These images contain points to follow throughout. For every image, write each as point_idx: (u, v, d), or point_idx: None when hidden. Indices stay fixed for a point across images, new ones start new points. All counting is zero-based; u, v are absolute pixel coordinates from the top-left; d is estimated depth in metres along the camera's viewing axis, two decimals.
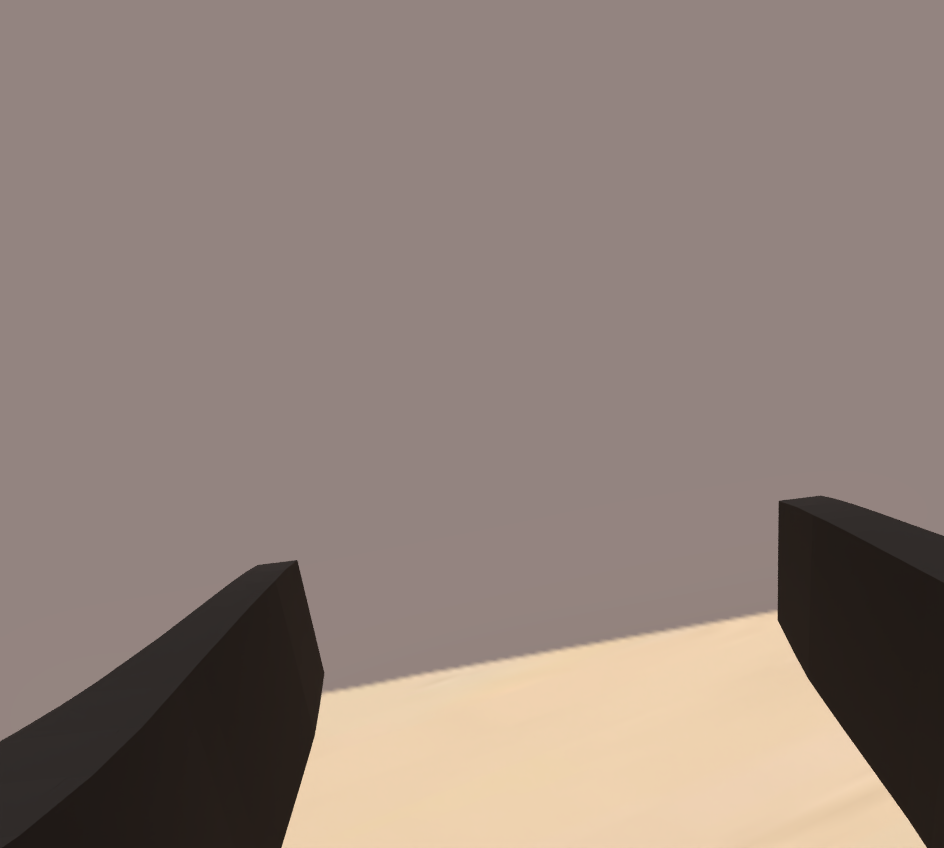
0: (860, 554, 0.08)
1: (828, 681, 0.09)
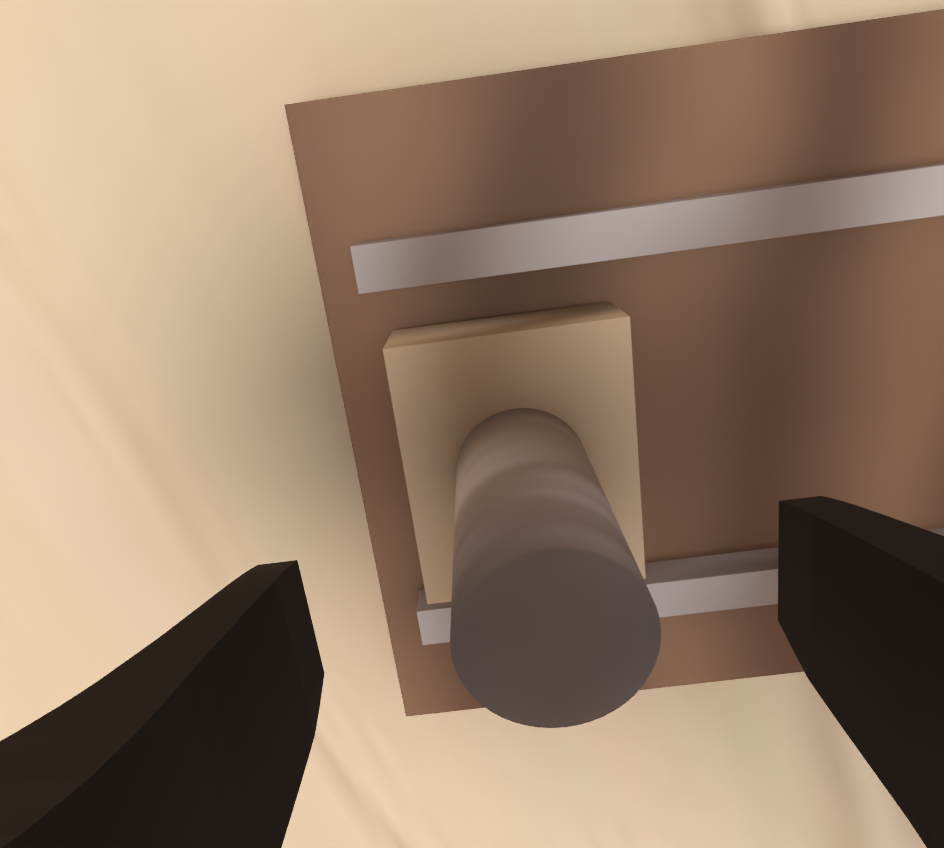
0: (860, 553, 0.08)
1: (828, 681, 0.09)
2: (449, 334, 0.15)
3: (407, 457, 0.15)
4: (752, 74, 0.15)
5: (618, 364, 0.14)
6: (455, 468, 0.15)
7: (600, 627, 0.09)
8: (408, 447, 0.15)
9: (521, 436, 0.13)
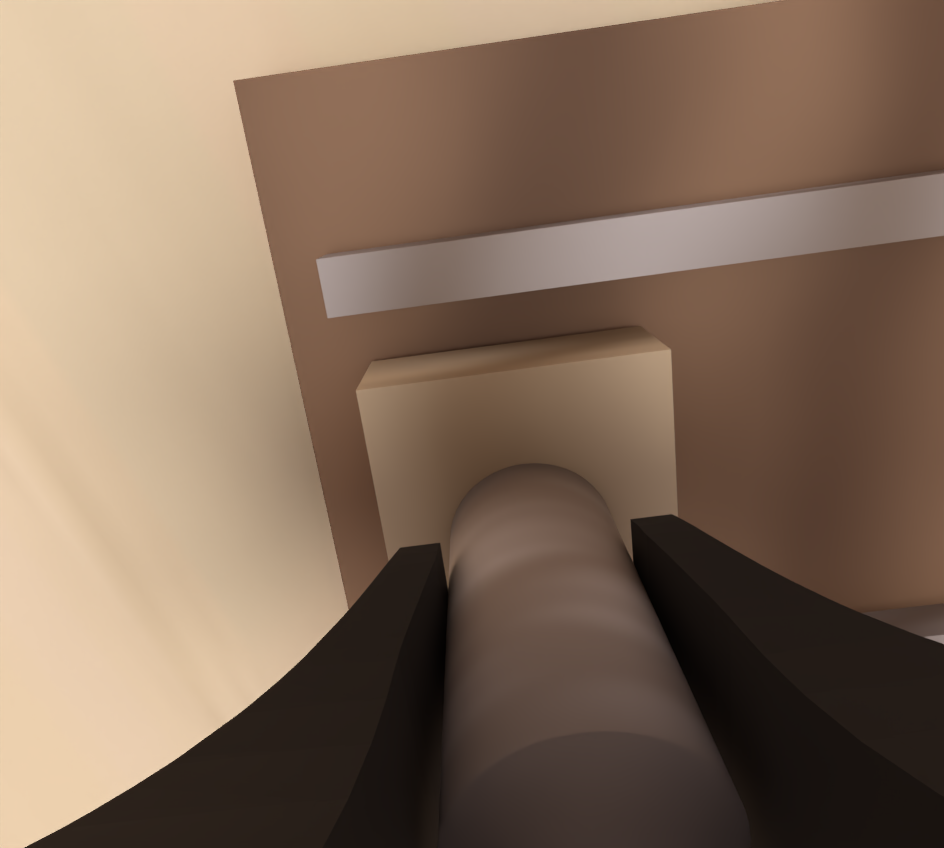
0: (674, 576, 0.08)
1: None
2: (441, 370, 0.12)
3: (388, 523, 0.12)
4: (821, 42, 0.12)
5: (655, 409, 0.11)
6: (449, 537, 0.12)
7: (661, 838, 0.06)
8: (389, 511, 0.12)
9: (534, 509, 0.10)
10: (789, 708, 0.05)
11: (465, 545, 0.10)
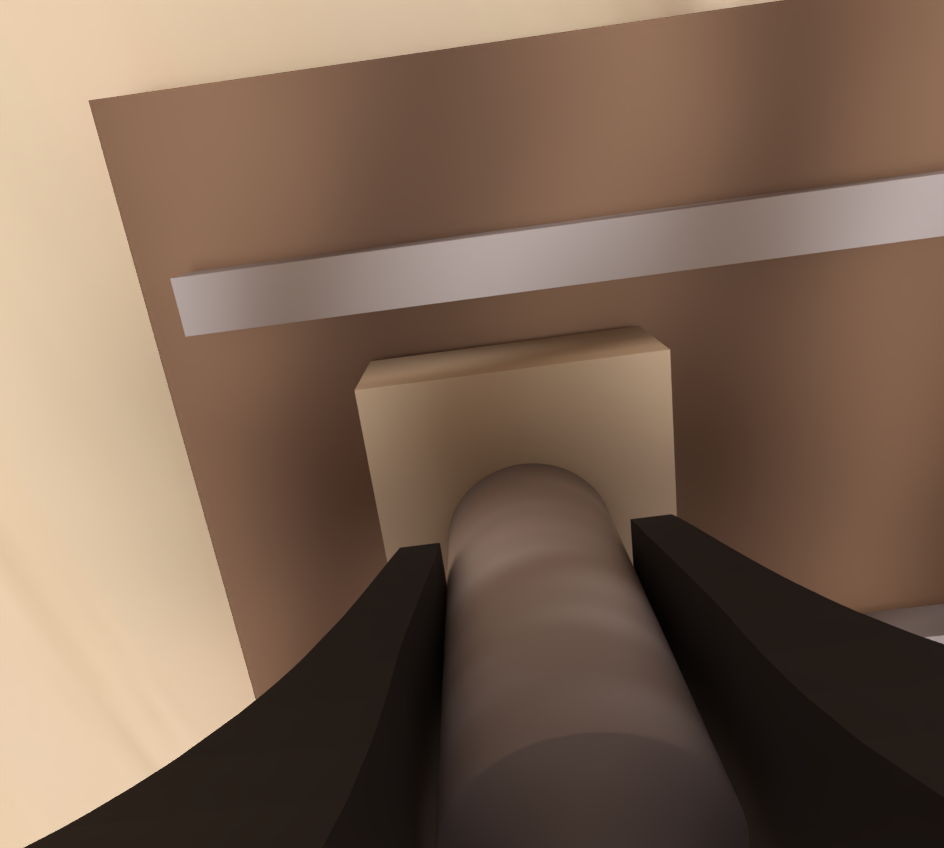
0: (674, 575, 0.08)
1: None
2: (440, 370, 0.12)
3: (387, 524, 0.12)
4: (673, 63, 0.12)
5: (654, 409, 0.11)
6: (447, 537, 0.12)
7: (659, 840, 0.06)
8: (388, 512, 0.12)
9: (533, 509, 0.10)
10: (789, 708, 0.05)
11: (464, 545, 0.10)
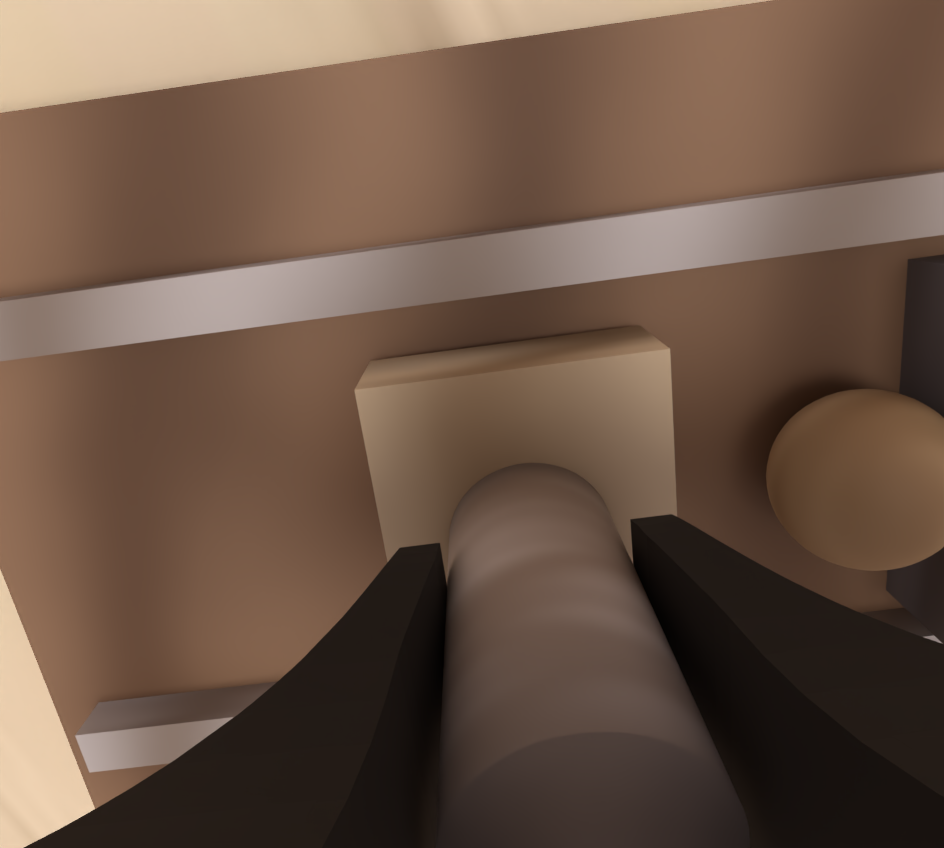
0: (675, 575, 0.08)
1: None
2: (440, 369, 0.12)
3: (387, 523, 0.12)
4: (405, 100, 0.12)
5: (654, 409, 0.11)
6: (447, 537, 0.12)
7: (660, 838, 0.06)
8: (388, 511, 0.12)
9: (533, 509, 0.10)
10: (789, 708, 0.05)
11: (464, 545, 0.10)
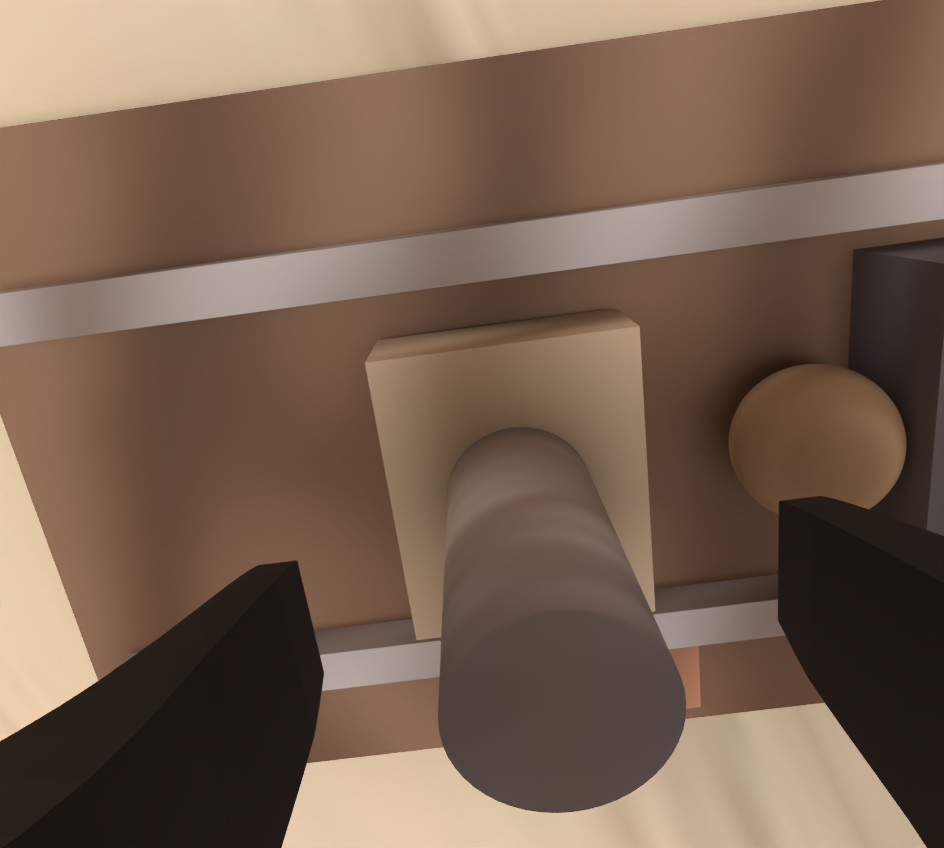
0: (860, 554, 0.08)
1: (828, 681, 0.09)
2: (439, 345, 0.13)
3: (393, 481, 0.13)
4: (409, 109, 0.13)
5: (626, 379, 0.13)
6: (446, 493, 0.13)
7: (614, 700, 0.08)
8: (394, 470, 0.13)
9: (519, 462, 0.11)
10: None
11: (460, 494, 0.12)
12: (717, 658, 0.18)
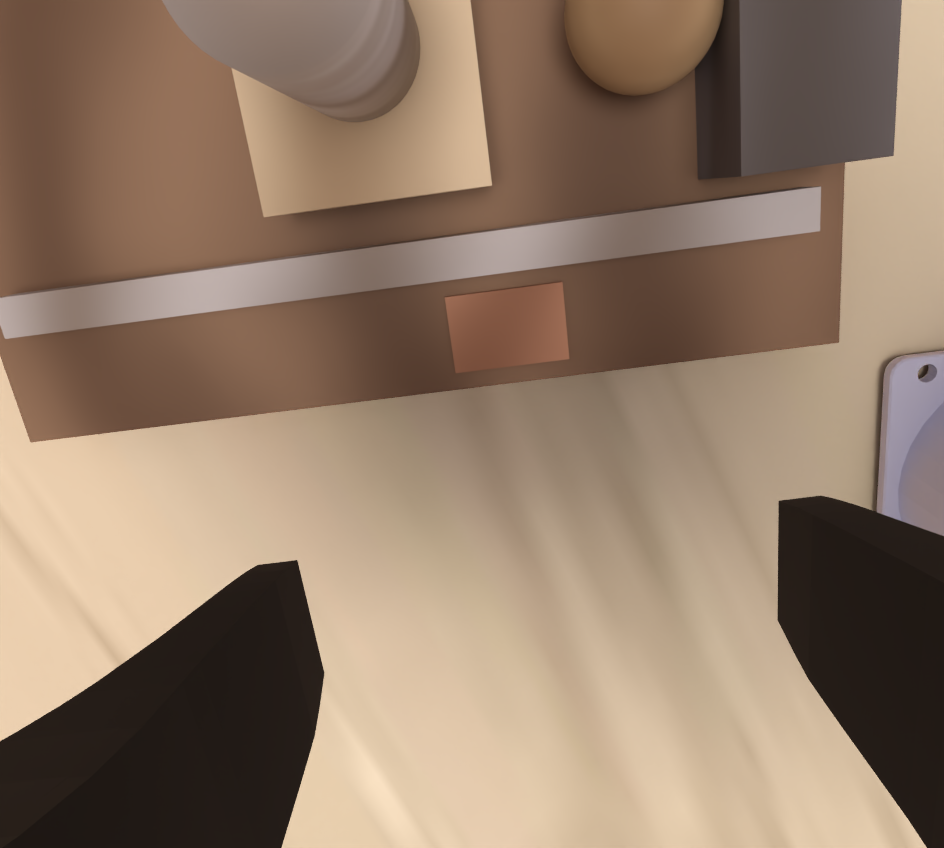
0: (860, 553, 0.08)
1: (828, 681, 0.09)
2: None
3: None
4: None
5: None
6: None
7: None
8: None
9: None
10: None
11: None
12: (584, 307, 0.18)
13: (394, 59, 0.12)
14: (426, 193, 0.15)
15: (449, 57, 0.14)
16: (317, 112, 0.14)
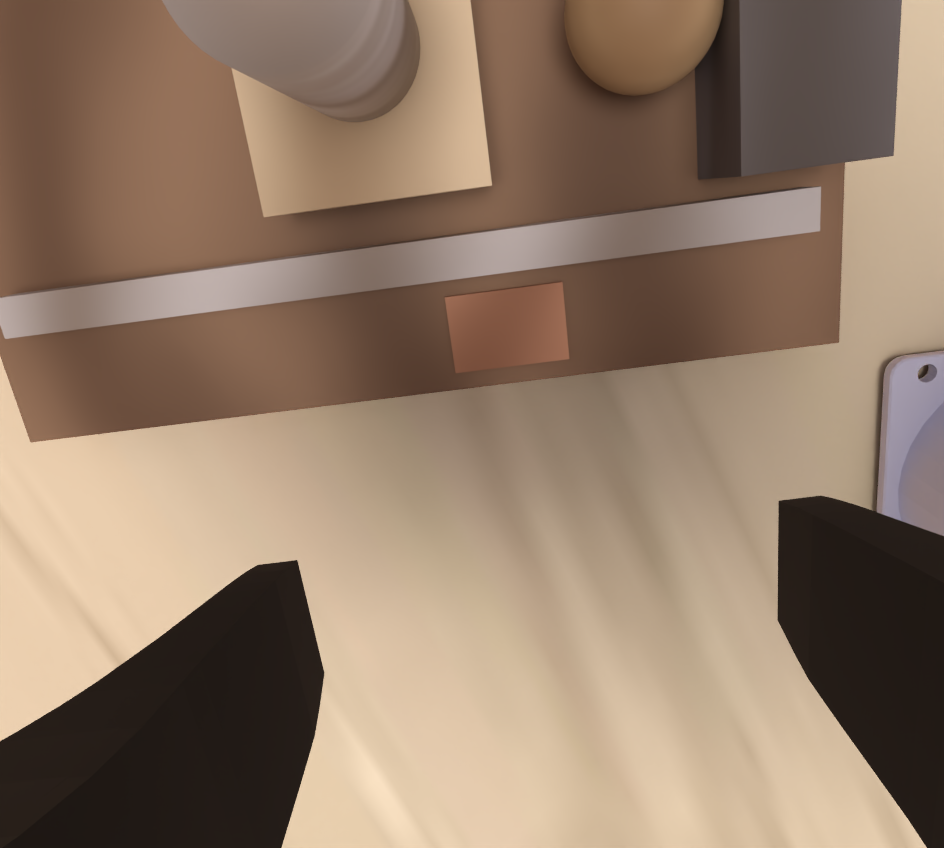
0: (860, 553, 0.08)
1: (828, 681, 0.09)
2: None
3: None
4: None
5: None
6: None
7: None
8: None
9: None
10: None
11: None
12: (584, 307, 0.18)
13: (394, 59, 0.12)
14: (426, 193, 0.15)
15: (449, 57, 0.14)
16: (317, 112, 0.14)
